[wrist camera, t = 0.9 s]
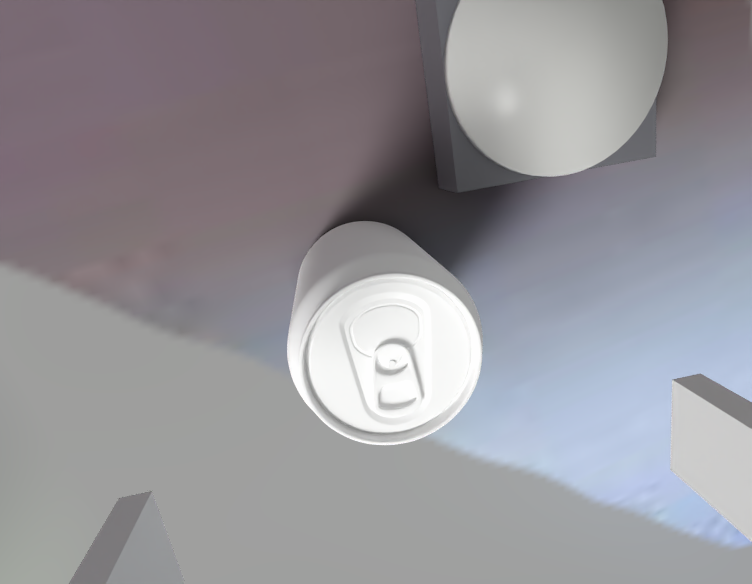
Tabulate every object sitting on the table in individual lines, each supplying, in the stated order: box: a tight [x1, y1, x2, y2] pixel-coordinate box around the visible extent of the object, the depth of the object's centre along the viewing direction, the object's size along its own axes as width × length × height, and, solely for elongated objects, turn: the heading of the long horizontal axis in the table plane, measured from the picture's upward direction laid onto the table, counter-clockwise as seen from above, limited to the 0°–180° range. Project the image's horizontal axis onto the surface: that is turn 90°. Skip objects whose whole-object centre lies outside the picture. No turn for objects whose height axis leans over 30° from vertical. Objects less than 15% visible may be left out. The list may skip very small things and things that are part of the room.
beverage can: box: [287, 221, 483, 445], centre depth 24 cm, size 8×8×12 cm
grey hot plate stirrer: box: [415, 0, 668, 193], centre depth 23 cm, size 16×11×8 cm
